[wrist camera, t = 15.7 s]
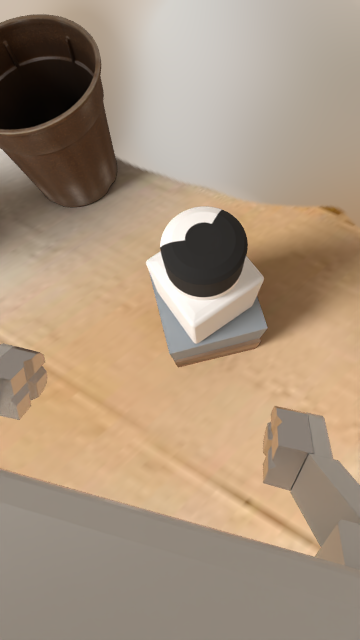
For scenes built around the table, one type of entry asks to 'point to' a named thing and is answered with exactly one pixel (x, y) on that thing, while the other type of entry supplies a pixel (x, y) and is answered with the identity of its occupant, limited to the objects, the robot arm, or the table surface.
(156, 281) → the medicine bottle
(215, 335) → the tower top block
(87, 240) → the table surface
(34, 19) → the plant pot
